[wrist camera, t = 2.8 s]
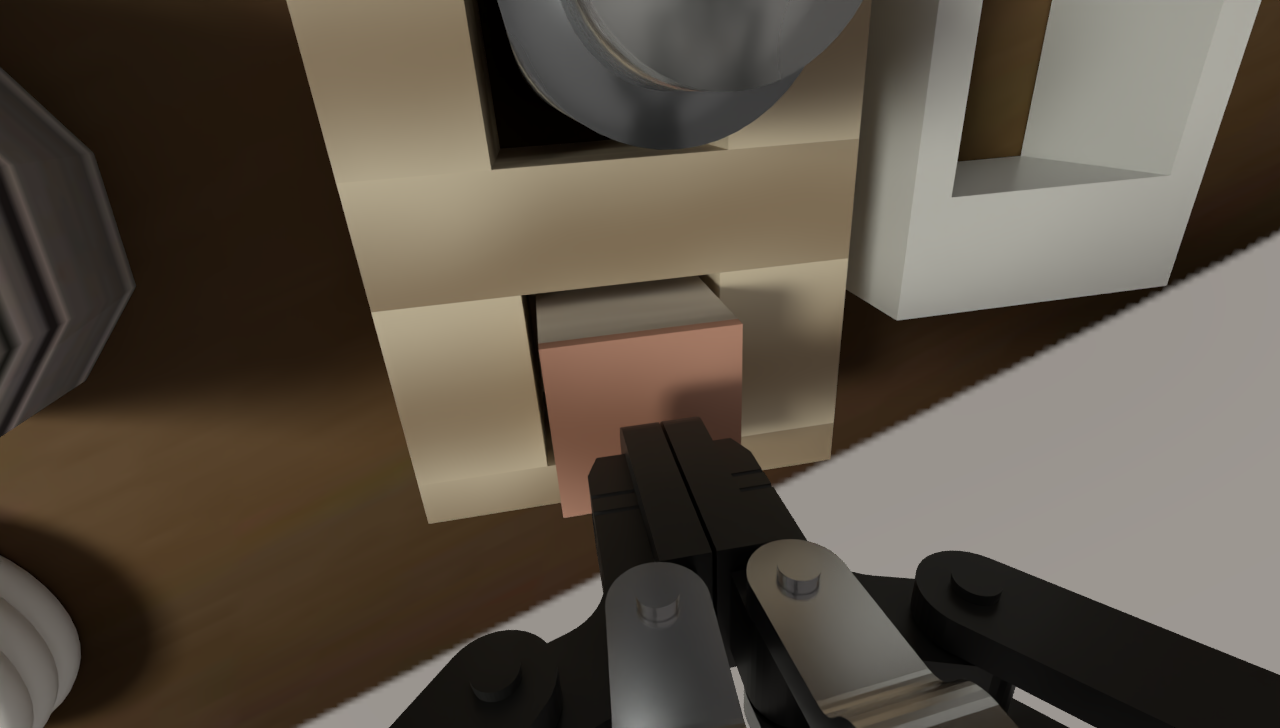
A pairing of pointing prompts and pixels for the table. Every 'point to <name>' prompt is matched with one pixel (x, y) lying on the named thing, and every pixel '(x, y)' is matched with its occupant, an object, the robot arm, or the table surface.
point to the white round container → (33, 650)
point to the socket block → (570, 239)
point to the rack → (1036, 154)
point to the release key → (633, 369)
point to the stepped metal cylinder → (668, 61)
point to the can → (52, 258)
